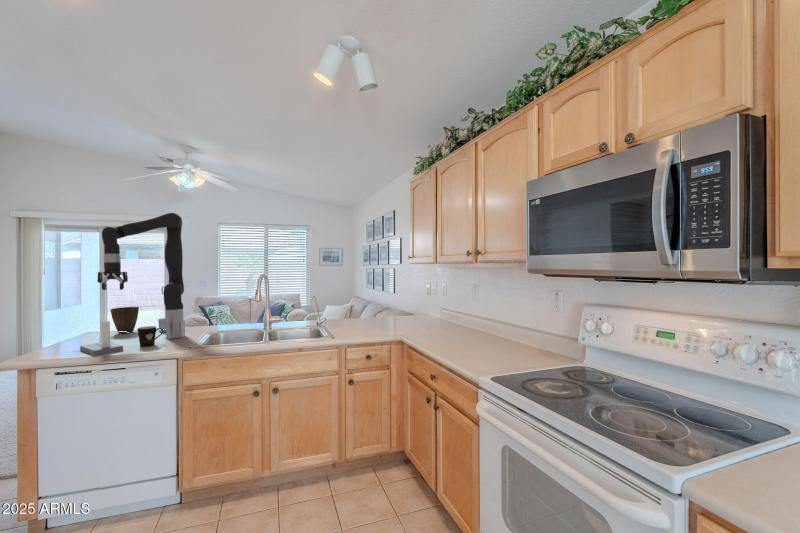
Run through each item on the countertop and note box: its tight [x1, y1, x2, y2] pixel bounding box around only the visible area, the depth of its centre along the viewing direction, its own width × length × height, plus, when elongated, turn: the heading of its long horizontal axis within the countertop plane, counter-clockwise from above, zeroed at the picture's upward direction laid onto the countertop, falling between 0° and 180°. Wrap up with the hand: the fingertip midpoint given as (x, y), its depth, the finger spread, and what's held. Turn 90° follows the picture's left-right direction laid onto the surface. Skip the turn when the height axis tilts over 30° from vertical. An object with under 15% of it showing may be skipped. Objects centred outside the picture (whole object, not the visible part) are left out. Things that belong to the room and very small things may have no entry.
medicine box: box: [158, 317, 166, 333], centre depth 244 cm, size 8×4×9 cm, turn 168°
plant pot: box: [110, 306, 140, 335], centre depth 239 cm, size 15×15×16 cm
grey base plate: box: [79, 341, 124, 357], centre depth 192 cm, size 20×12×3 cm, turn 56°
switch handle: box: [100, 320, 111, 348], centre depth 189 cm, size 2×3×13 cm
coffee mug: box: [136, 325, 164, 348], centre depth 203 cm, size 12×9×10 cm
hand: (113, 289), depth 212 cm, fingers open, 8 cm apart
